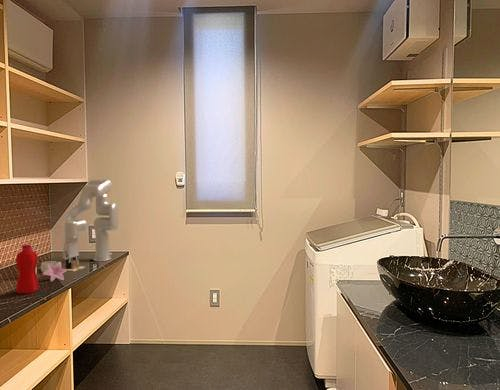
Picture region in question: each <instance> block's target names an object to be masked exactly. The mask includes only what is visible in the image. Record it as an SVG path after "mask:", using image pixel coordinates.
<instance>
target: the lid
mask: <svg viewBox="0 0 500 390" xmlns="http://www.w3.org/2000/svg"><path fill="white" fill-rule="evenodd" d="M70 263H71V269H66V263H65V261H63V267H61V269H65V270H67V271H66V272H76V271H79V270H82V269H85V268H86V266H85V265H80V260H79V259H78V260H73V259H71V260H70Z"/></svg>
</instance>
